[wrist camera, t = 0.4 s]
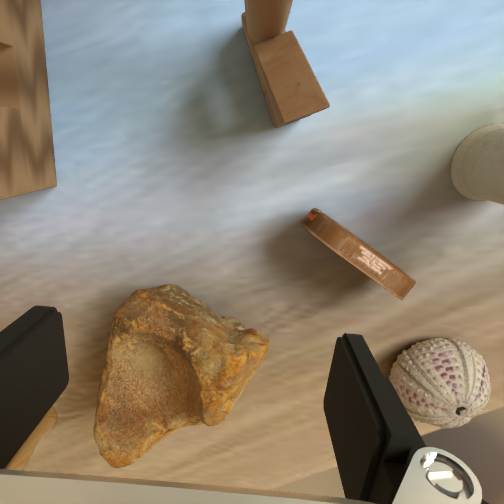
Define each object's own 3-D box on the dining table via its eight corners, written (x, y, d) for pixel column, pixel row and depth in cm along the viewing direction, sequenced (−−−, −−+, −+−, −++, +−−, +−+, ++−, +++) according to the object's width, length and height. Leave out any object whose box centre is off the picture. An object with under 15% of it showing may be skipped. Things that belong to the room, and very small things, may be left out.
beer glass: (38, 389, 50) (-46, 488, 36) (69, 419, 52) (0, 524, 38) (6, 407, 52) (-87, 509, 38) (37, 436, 54) (-41, 543, 40)
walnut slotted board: (12, -40, 32) (-87, -111, 23) (37, -36, 32) (-53, -107, 23) (37, 183, 40) (-32, 198, 30) (56, 185, 40) (-6, 200, 30)
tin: (294, 217, 41) (303, 237, 33) (310, 197, 40) (323, 212, 32) (383, 282, 44) (411, 314, 36) (399, 264, 43) (432, 293, 35)
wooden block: (274, 129, 37) (288, 123, 20) (241, 25, 34) (226, -85, 17) (304, 117, 37) (346, 101, 20) (275, 11, 34) (294, -117, 17)
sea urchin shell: (390, 328, 46) (416, 366, 39) (486, 330, 46) (531, 369, 38) (376, 402, 51) (398, 449, 43) (464, 404, 51) (501, 451, 43)
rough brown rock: (210, 232, 43) (173, 272, 28) (283, 327, 45) (284, 406, 31) (89, 321, 48) (8, 392, 34) (162, 400, 51) (115, 496, 37)
